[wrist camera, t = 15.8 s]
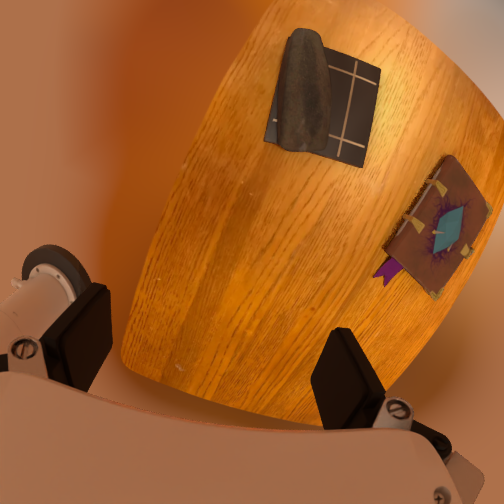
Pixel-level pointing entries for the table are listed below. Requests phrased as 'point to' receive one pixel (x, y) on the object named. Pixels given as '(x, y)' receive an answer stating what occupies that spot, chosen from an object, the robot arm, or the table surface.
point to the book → (438, 229)
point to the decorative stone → (304, 94)
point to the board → (343, 108)
